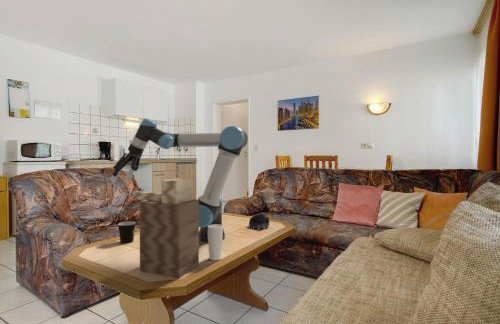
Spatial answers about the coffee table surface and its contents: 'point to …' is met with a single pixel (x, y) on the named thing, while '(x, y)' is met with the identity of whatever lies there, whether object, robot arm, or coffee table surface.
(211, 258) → the drinking glass
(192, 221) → the stand
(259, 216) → the black rounded lump
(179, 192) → the stepped beige block
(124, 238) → the coffee mug
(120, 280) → the coffee table surface
